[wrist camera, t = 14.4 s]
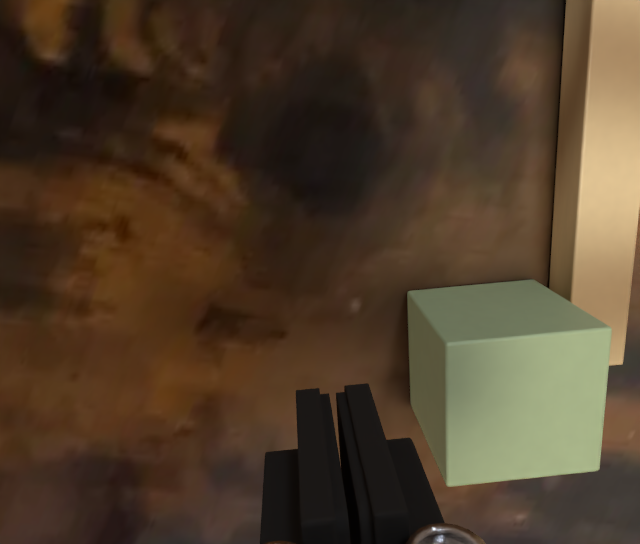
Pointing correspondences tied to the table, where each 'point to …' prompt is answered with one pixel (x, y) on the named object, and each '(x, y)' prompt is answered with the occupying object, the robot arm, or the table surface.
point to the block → (507, 381)
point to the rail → (598, 163)
